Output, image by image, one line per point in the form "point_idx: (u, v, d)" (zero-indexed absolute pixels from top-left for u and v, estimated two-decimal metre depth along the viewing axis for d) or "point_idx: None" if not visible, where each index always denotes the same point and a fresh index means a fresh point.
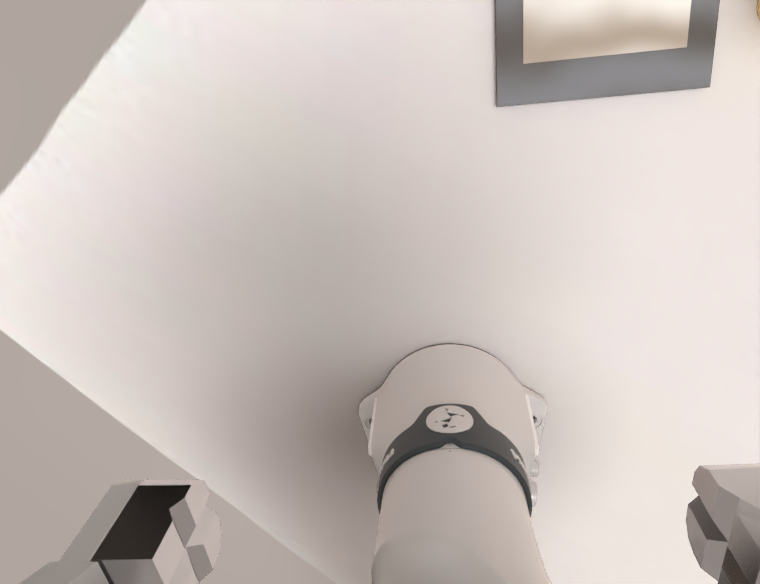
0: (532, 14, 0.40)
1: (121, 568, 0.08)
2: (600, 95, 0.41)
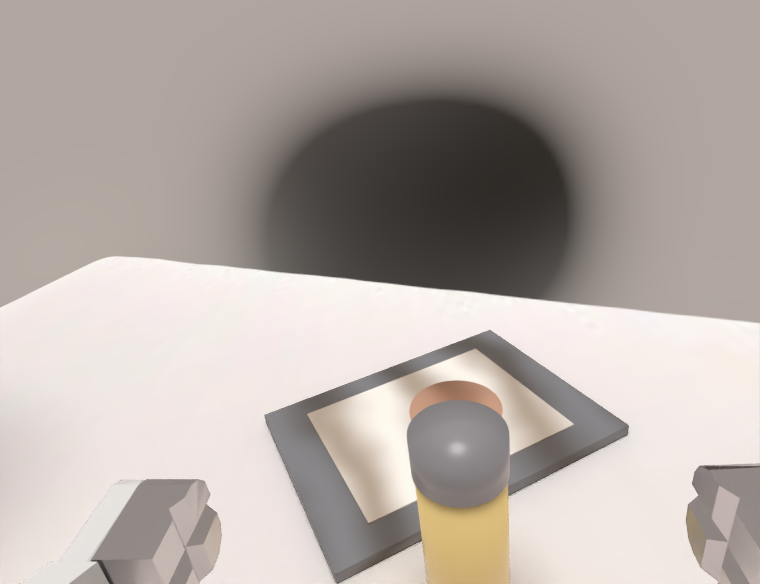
0: (349, 403, 0.42)
1: (121, 568, 0.08)
2: (294, 478, 0.36)
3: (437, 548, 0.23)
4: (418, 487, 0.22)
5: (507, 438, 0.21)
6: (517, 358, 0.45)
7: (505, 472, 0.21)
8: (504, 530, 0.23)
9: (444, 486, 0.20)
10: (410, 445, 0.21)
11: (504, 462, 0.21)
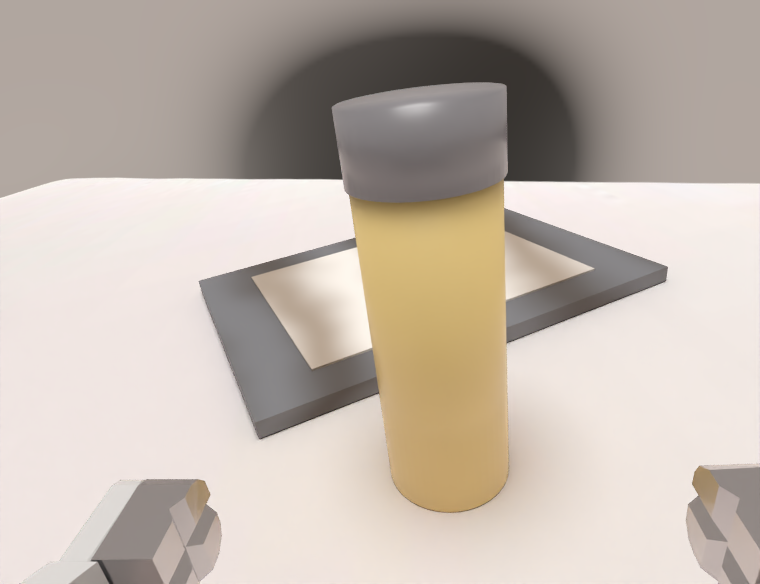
0: (306, 265, 0.33)
1: (121, 568, 0.08)
2: (221, 333, 0.27)
3: (387, 311, 0.14)
4: (351, 190, 0.13)
5: (502, 88, 0.12)
6: (519, 221, 0.36)
7: (499, 149, 0.12)
8: (498, 281, 0.14)
9: (389, 154, 0.11)
10: (335, 109, 0.12)
11: (497, 122, 0.12)
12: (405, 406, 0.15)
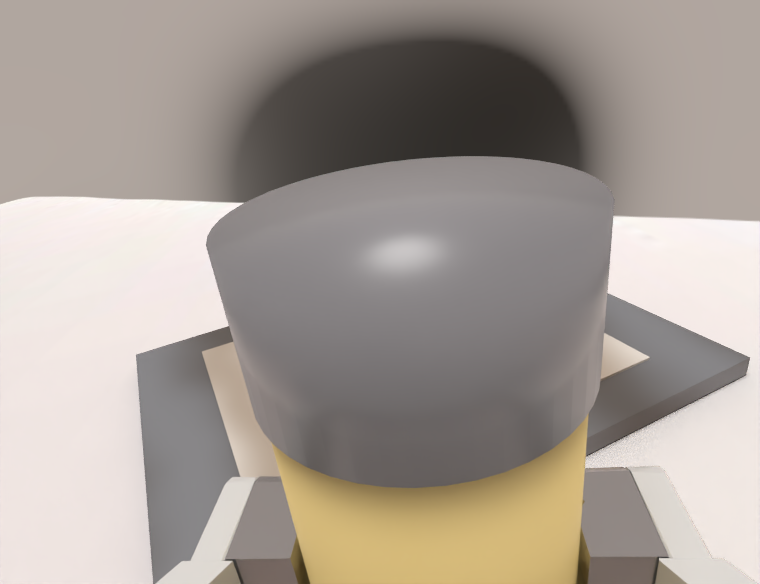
0: None
1: (255, 568, 0.07)
2: (146, 449, 0.20)
3: None
4: (255, 413, 0.06)
5: (606, 199, 0.05)
6: None
7: (598, 343, 0.05)
8: (572, 572, 0.07)
9: (327, 386, 0.04)
10: (213, 240, 0.05)
11: (599, 289, 0.05)
12: None
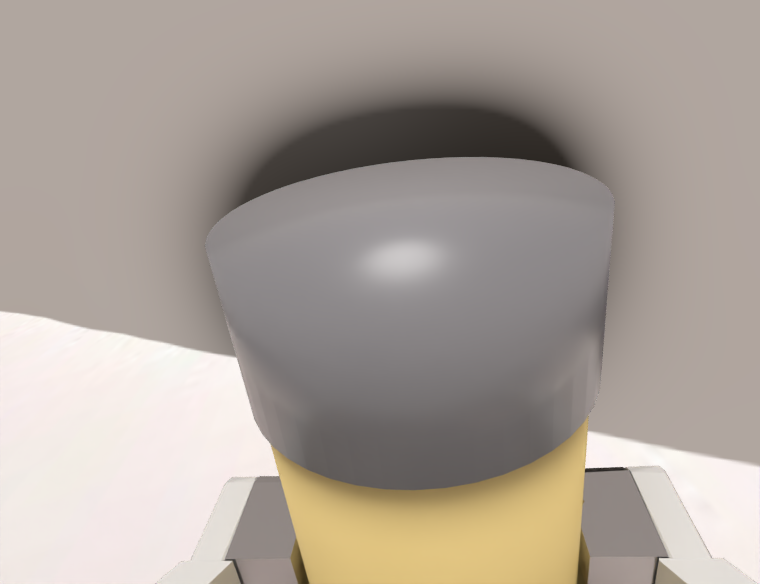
0: None
1: (255, 568, 0.07)
2: None
3: None
4: (254, 414, 0.06)
5: (606, 201, 0.05)
6: None
7: (597, 345, 0.05)
8: (572, 573, 0.07)
9: (326, 387, 0.04)
10: (212, 241, 0.05)
11: (599, 291, 0.05)
12: None
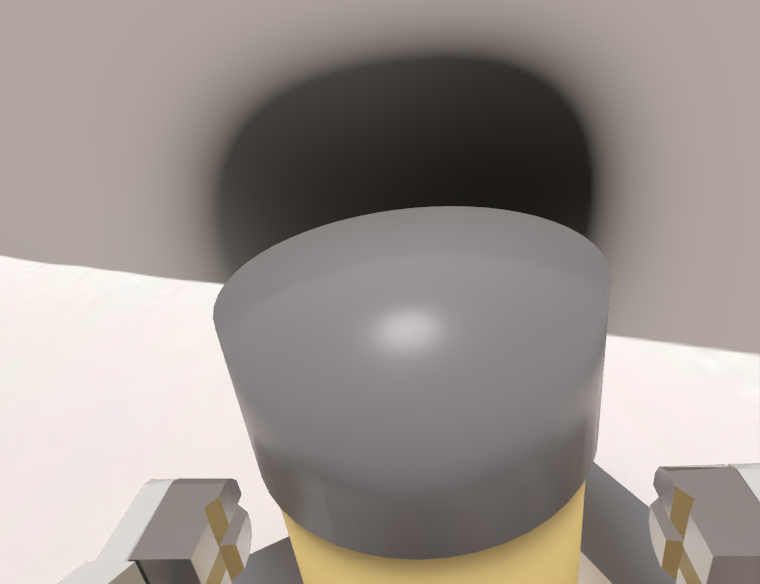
0: None
1: (158, 568, 0.08)
2: None
3: None
4: (262, 474, 0.06)
5: (603, 274, 0.05)
6: (631, 523, 0.16)
7: (595, 414, 0.05)
8: None
9: (332, 468, 0.05)
10: (219, 311, 0.05)
11: (595, 367, 0.05)
12: None
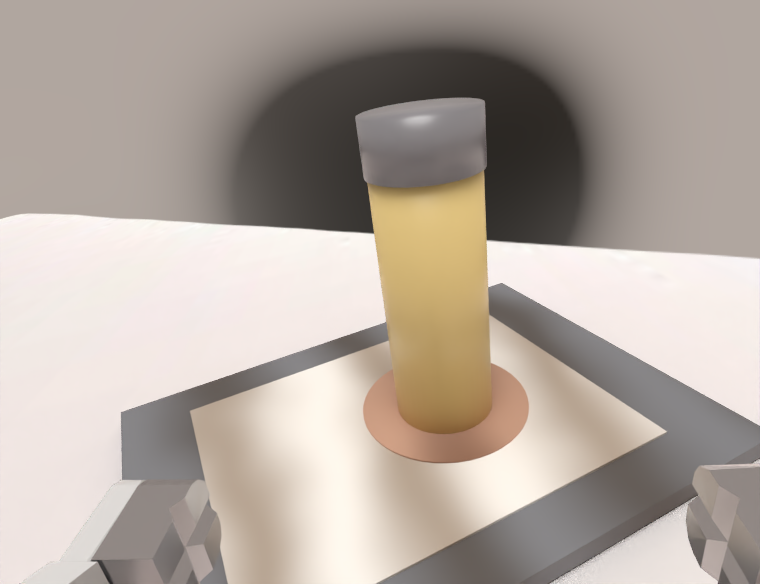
0: (265, 392, 0.25)
1: (121, 568, 0.08)
2: None
3: (396, 271, 0.18)
4: (370, 179, 0.17)
5: (481, 104, 0.16)
6: (548, 321, 0.28)
7: (479, 148, 0.17)
8: (480, 248, 0.18)
9: (399, 152, 0.16)
10: (358, 119, 0.17)
11: (477, 128, 0.16)
12: (409, 347, 0.19)
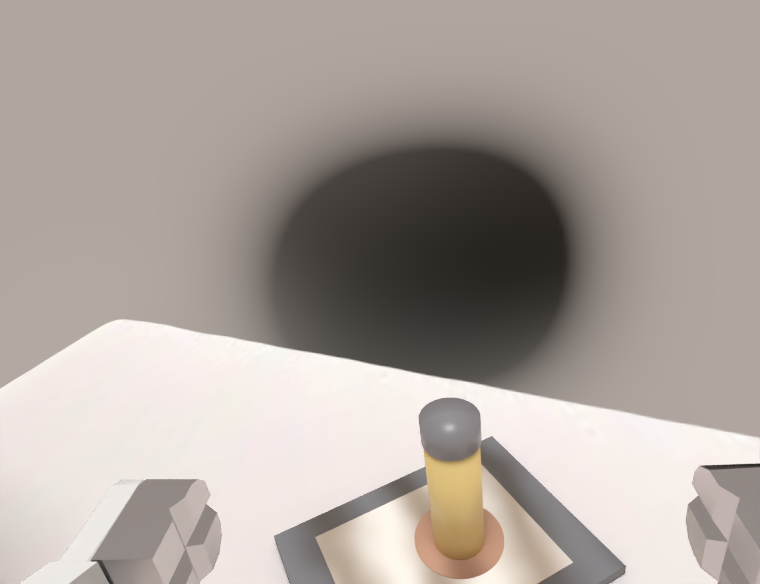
0: (356, 525, 0.44)
1: (121, 568, 0.08)
2: None
3: (437, 488, 0.37)
4: (425, 449, 0.36)
5: (478, 420, 0.35)
6: (518, 474, 0.46)
7: (477, 440, 0.35)
8: (478, 477, 0.37)
9: (441, 447, 0.35)
10: (421, 424, 0.36)
11: (476, 434, 0.35)
12: (442, 520, 0.38)
